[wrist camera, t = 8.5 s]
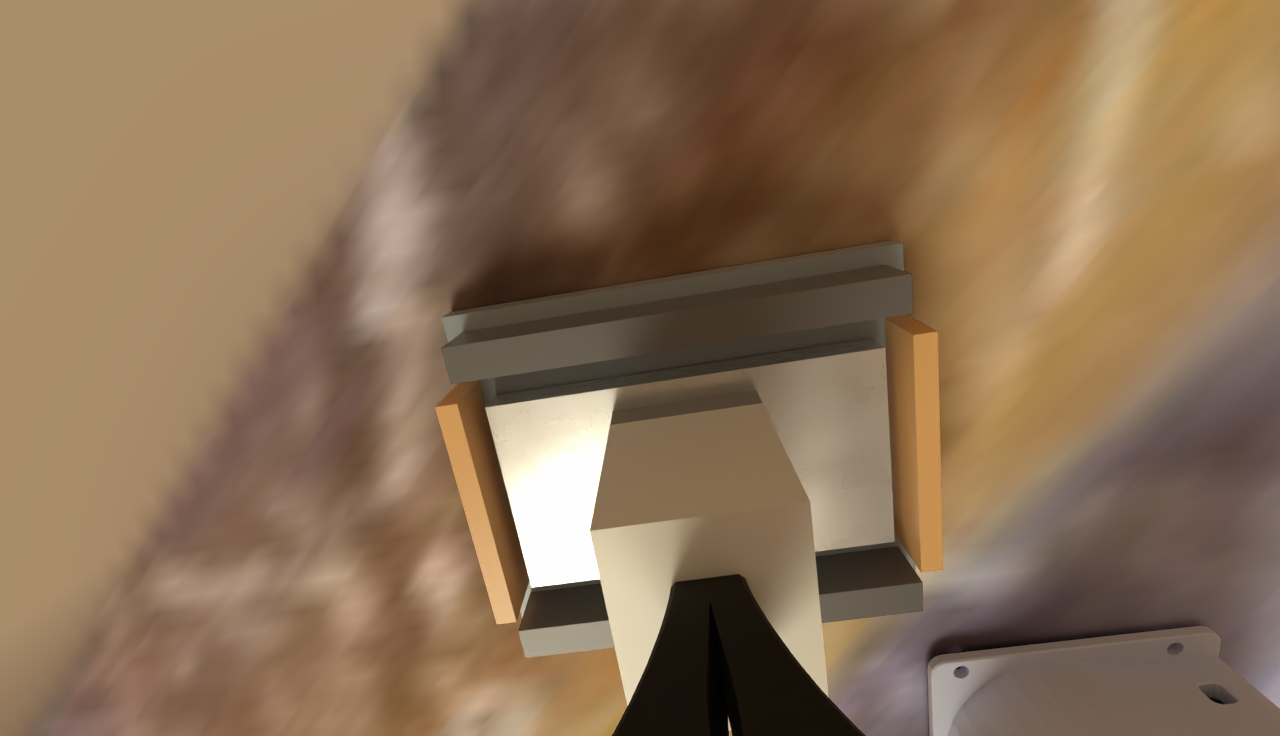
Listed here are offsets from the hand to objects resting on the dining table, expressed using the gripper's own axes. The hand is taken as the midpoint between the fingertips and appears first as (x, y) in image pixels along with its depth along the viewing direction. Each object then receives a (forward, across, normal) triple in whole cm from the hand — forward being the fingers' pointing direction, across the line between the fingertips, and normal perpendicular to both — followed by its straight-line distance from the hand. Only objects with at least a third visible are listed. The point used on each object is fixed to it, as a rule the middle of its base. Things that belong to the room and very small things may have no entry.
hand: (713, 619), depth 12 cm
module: (+6, 0, 0) cm, 6 cm away
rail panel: (+8, 0, 0) cm, 8 cm away
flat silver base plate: (+7, 0, 0) cm, 7 cm away
